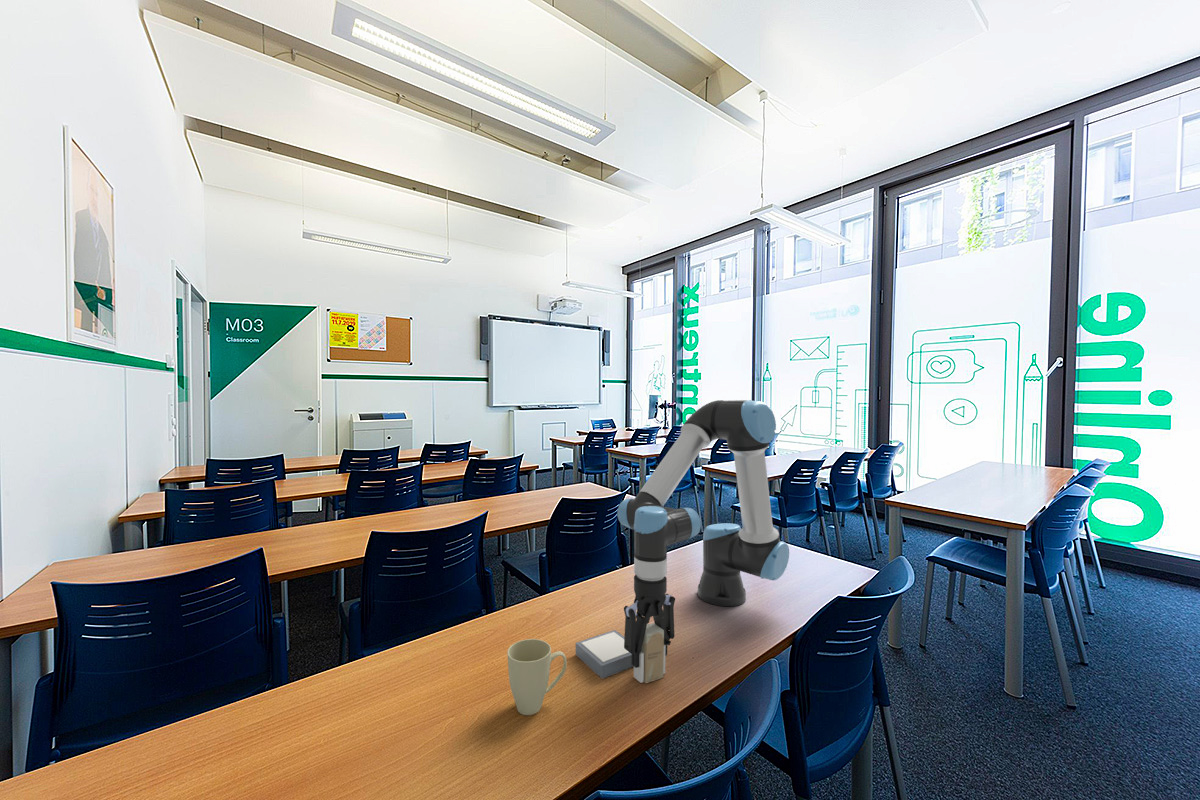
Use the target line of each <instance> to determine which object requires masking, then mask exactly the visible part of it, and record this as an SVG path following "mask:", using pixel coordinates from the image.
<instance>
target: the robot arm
mask: <svg viewBox="0 0 1200 800" xmlns="http://www.w3.org/2000/svg"><path fill="white" fill-rule="evenodd" d="M776 430H777V424H776V417H775V414H774V412H773V410H772V409H771V407H770V406H769V405H768V404H767V403H765V402H764V401H759V400H758V401H757V400H751V399H748V400H747V399H746V400H743V399H741V400H737V399H736V400H735V399H734V400H714V401H711V402H708V403H706V404H704V405H702V406H701V407H700V408H698V409H696V411H694V412H693V413H692V414H691V415H690V416H689V417H688V418H687V420H686V421H684V423H683V425H682V426H681V428H680V435H679V436H678V438H677V439H676V440H675V442H674V443H673V444H672V446H671V447H670V448H669V450H668V451H667V453H666V454H665V456H664V457H663V458H662V460H661V461H660V462H659V464H658V465H657V466H656V468H655V470H654V471H653V472H652V473H651V475H650V477H649V478H648V479H647V480H646V482H645V484H644V485H643V486H642V488H641V489H640V490H639V492H638V493H637V494H636V496H635V497H634V498H626V499H624V500H622V501H620V503H619V506H618V508H617V514H616V515H617V519H618V521H619V523H620V524H621V525H622V526H624V527H626V528H629V529H630V530H633V533H634V534H633V536H634V543H633V545H634V546H633V549H634V555H633V556H634V557H633V559H634V560H633V568H634V569H633V571H634V574H635V575H634V576H633V592H634V594H635V595H634V596H635V597H634V600H633V603H632V604H631V605H630V606H628V605H625V606H624V607H623V611H624V616H625V617H624V618H625V621H624V649H626V650H627V651H628V652H630V653H631V654H632V665H633V666H634V667H633V678H634V679H635V680H637V681H638V682H639V683H640V684H641V683H645V682H644V653H643V652H641V649H642V645H643V640H644V636H645V631H646V627H647V624H650V620H651V618H653V623H655V624H656V625H657V626H659V627H660V628H661V629H663V630H664V656H663V675H664V674H666V657H667V656H668V646H670V645H671V643H672V641H671V640H673V639H674V638H675V637H676V636H675V613H674V612H675V611H674V607H675V602H676V597H675V596H673V595H671V594H670V593H667V591H668V590H667V589H668V588H667V587H668V586H667V583H668V582H667V579H668V578H667V573H668V569H667V568H668V564H667V563H668V559H667V556H668V555H667V554H668V550H667V549H668V546H670V545H673V544H677V543H680V542H681V543H682V542H684V541H688V540H690V539H692V538H694V537H696V536H697V535H698V534H699V533H700V531H701V526H702V524H701V523H702V522H701V518H700V516H699V514H698V512H697V511H695V509H693V508H692V507H679V508H672V507H667V506H665V505H666V503H667V501H668V500H669V499H670V497H671V496H672V494H673V493H674V491H675V490H676V488H677V487H678V486H679V483H680V482H681V480H682V479H683V478H684V477H685V475H686V473H687V472H688V470H689V469H690V467H692V464H693V463H694V461H695V460H696V458H697V457H698V456H699V454H700V453H701V452H702V450H703V449H705V448H708V447H709V446H710V443H711V442H713V441H715V440H726V445H727V449H728V450H729V452H731V453H733V458H734V467H735V474H736V483H737V491H738V498H739V507H740V514H741V515H740V516H741V524H742V528H741V526H740V525H739V524H737V523H729V522H728V523H727V522H726V523H722V522H721V523H714V524H710V525H707V526H705V528H704V529H703V537H702V541H703V543H702V547H703V548H702V549H703V550H702V552H703V553H702V557H703V558H702V559H703V564H702V566H703V569H702V574H701V576H700V580H699V583H698V585H697V597H698V598H699V599H700V600H701V601H704V602H706V603H708V604H711V605H715V606H720V607H721V606H722V607H734V606H735V607H736V606H740V605H742V604H744V603H745V602H746V601H747V591H746V589H745V587H744V584H743V580H742V576H741V573H746V574H748V575H752V576H756V577H758V578H760V579H763V580H764V579H765V580H769V581H777V580H779V579H780V578H781V577H782V576H783V575H784V573H785V571H786V569H787V566H788V563H789V559H790V548H789V544H787V543H786V542H785V541H783V540H782V541H781V540H780V538H781V537H780V532H779V530H778V529H776V528H775V526H773V517H772V508H771V507H772V506H771V500H770V499H771V498H770V491H769V489H770V488H769V480H768V474H767V473H768V471H767V470H768V469H767V462H766V454H765V451H766V450H768V448H769V447H770V443H771V441H773V439H774V438H775V436H776V432H775V431H776Z"/></svg>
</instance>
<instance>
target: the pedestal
mask: <svg viewBox="0 0 1200 800" xmlns="http://www.w3.org/2000/svg"><path fill="white" fill-rule="evenodd" d="M624 637H625V635H624V634H623V635H622V634H621V633H620V632H619V631H617V629H613V630H609V631H607V632H604V633H601V634H598V635H595V636H592V637H589V638H586V639H583V640H580V641H577V642H575V655H576V656H577V658H579V659H580V660H581V662H583V663H584V664H585V665H586V666H587V667H588V668H590V669H591V671H593V672H594V673H595V674H596V675H597V676H598V677H599V678H600V679H601V680H603V679H605V678H608V677H610V676H613V675H615V674H618V673H621V672H623V671H626V670H628V669H631V668H634V666H633V665H632V654H631V653H630V652H628V651H627V650H626V649H624Z"/></svg>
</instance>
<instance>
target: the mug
mask: <svg viewBox="0 0 1200 800" xmlns="http://www.w3.org/2000/svg"><path fill="white" fill-rule="evenodd" d="M506 653H507V654H506V655H507V669H508V681H509V686H510V690H511V694H512V696H513V699H514V703H515V707H516V710H517V712H518V713H519V714H521V715H524V716H532V715H535V714H537V713H538V712H539V711H541V708H542V705H543V702H544V698H545V695H546V694H547V693H549V692H550V691H551V690H552V689H553V688H554V687H555V686H556V685H557V684H558V683H559V681H560V680H561V679H562V678H563V677H564V675H565V672H566V671H567V661H568V660H567V658H566V655H565V653H564V652H563V651H561V650H559V651H554V652H553V653H552V647H551V645H550V644H549V643H548V642H546V640H542V639H537V638H527V639H522V640H518V641H516V642H515V643H513V644H511V645H510V646H509V647H508V648H507V652H506ZM559 656H561V657H562V659H563V666H562V669H561V671H560V672H559V673H558V675H557V676H556V678H555V679H553V681H552V682H551V683H550V684H549V679H550V673H551V672H550V670H551V663H552V662H553V661H554V660H555V659H556V658H558V657H559Z"/></svg>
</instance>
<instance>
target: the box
mask: <svg viewBox="0 0 1200 800" xmlns="http://www.w3.org/2000/svg"><path fill="white" fill-rule="evenodd" d="M641 652H643V653H644V682H643V683H645V684H648V683H651V682H654V681H657V680H661V679H663V678H664V674H663V656H664V630H663V629H661V628H660V627H659V626H657V625H656V624H655V623H654V622H652V623H648V624H647V627H646V631H645V636H644V640H643V645H642V649H641Z"/></svg>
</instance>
